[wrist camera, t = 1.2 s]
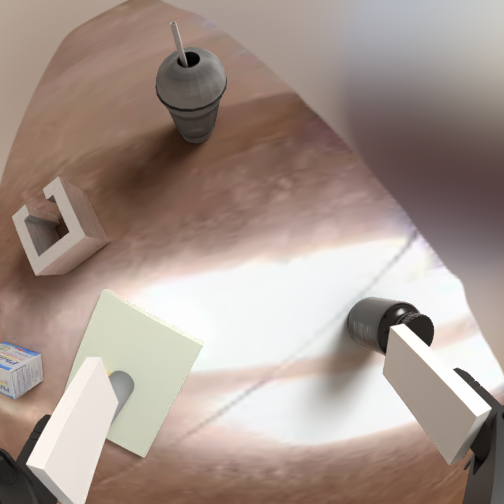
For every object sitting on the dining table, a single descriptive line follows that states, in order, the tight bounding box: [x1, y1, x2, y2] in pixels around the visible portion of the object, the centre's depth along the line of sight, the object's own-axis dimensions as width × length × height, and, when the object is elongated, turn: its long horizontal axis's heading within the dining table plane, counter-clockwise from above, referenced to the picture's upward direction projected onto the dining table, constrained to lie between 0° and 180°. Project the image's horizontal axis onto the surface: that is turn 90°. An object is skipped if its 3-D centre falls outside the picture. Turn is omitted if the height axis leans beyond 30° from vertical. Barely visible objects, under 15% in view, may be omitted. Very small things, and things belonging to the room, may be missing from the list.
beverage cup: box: [156, 22, 227, 143], centre depth 28 cm, size 7×7×20 cm
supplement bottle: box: [348, 297, 434, 356], centre depth 34 cm, size 7×7×12 cm
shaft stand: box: [63, 289, 204, 458], centre depth 30 cm, size 20×14×12 cm
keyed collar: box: [12, 176, 110, 276], centre depth 32 cm, size 8×8×8 cm
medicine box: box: [0, 342, 43, 399], centre depth 29 cm, size 8×4×9 cm, turn 84°
